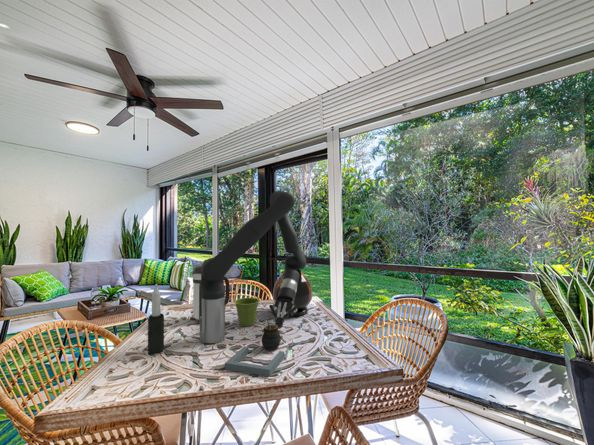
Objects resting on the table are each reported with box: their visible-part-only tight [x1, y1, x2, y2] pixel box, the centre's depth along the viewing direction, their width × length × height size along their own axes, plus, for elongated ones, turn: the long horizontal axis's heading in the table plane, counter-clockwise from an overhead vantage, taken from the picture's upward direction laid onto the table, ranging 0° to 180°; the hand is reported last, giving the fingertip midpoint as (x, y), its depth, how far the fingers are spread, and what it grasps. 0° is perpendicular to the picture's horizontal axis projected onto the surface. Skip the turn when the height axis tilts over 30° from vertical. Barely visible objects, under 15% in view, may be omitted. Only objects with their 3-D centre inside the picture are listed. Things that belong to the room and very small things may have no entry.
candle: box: [147, 283, 165, 356], centre depth 105 cm, size 5×5×25 cm
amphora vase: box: [272, 259, 313, 317], centre depth 152 cm, size 22×22×28 cm
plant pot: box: [234, 297, 260, 328], centre depth 133 cm, size 12×12×11 cm
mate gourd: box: [261, 318, 282, 351], centre depth 107 cm, size 7×8×10 cm
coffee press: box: [189, 259, 230, 325], centre depth 142 cm, size 17×16×30 cm
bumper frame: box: [224, 346, 286, 377], centre depth 95 cm, size 16×13×2 cm
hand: (278, 327), depth 115 cm, fingers closed
